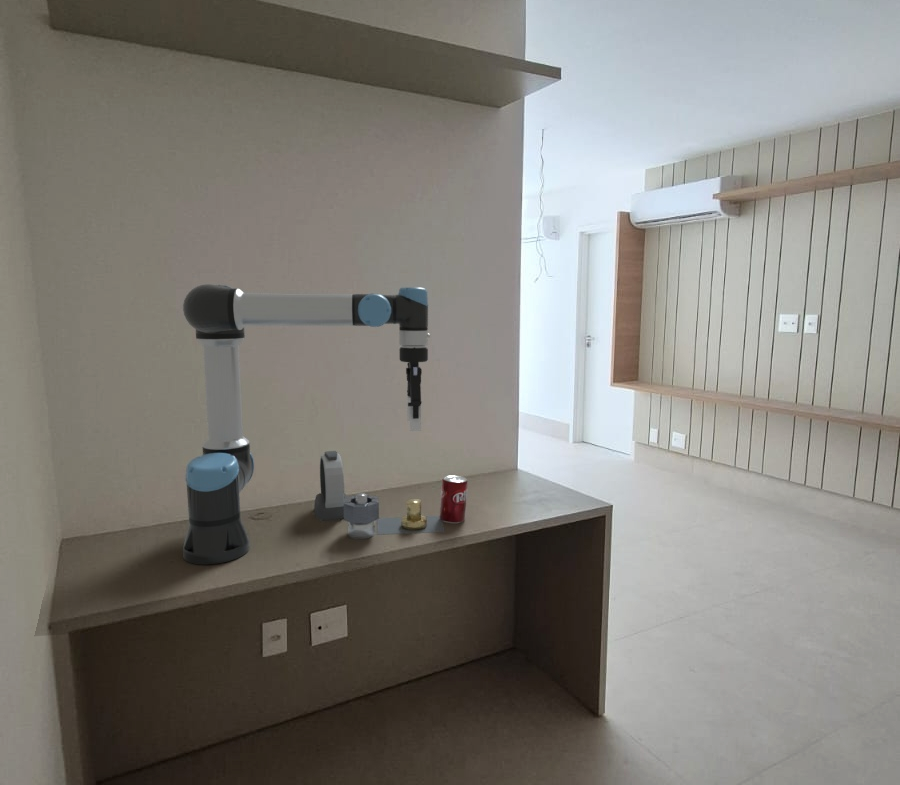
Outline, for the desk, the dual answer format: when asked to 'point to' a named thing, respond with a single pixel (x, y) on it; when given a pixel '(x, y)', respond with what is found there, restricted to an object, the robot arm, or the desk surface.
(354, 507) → the grey hex nut
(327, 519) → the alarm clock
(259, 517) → the desk surface
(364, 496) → the stand
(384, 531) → the mat
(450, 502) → the soda can
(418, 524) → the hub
